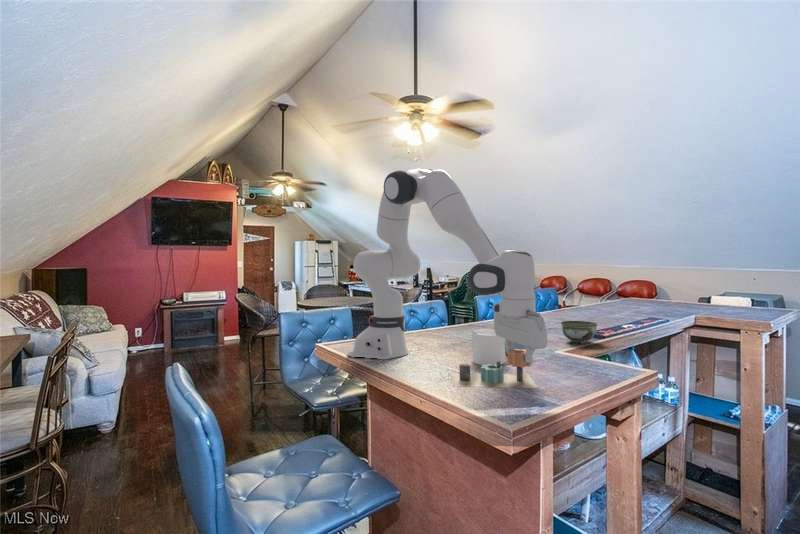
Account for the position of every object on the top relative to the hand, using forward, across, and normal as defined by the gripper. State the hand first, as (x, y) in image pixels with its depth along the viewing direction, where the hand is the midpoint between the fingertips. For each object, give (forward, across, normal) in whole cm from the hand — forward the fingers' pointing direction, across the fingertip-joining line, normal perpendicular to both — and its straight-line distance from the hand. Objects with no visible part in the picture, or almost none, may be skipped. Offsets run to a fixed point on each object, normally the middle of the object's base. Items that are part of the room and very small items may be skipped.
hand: (519, 358), depth 107 cm
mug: (+8, +22, -2) cm, 23 cm away
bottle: (+8, +30, -18) cm, 35 cm away
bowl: (+8, +37, -53) cm, 65 cm away
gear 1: (+6, +3, +7) cm, 10 cm away
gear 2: (+2, 0, 0) cm, 2 cm away
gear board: (+7, +3, +7) cm, 10 cm away
